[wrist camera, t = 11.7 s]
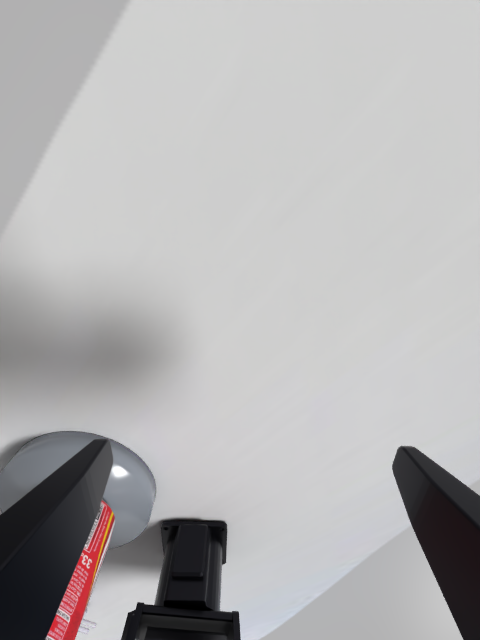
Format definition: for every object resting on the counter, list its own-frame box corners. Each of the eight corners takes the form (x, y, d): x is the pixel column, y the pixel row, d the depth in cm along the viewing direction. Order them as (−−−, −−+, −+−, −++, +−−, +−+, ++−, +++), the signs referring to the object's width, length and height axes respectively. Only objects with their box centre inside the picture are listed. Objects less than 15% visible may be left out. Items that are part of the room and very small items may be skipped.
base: (160, 530, 30) (155, 552, 28) (31, 527, 29) (17, 550, 28) (150, 433, 25) (143, 452, 23) (-8, 429, 24) (-28, 448, 22)
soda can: (56, 535, 27) (-71, 775, 16) (22, 483, 24) (-161, 730, 13) (130, 528, 26) (54, 768, 15) (105, 474, 24) (-11, 720, 13)
